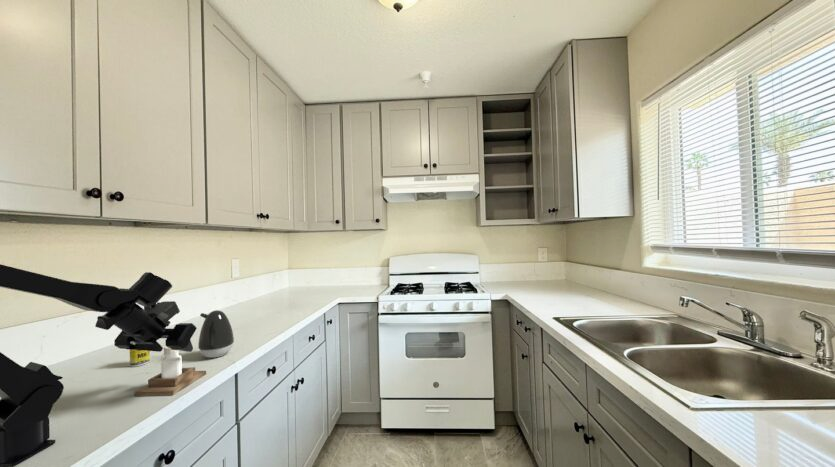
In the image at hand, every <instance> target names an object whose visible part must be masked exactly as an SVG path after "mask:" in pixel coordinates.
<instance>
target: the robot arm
mask: <svg viewBox="0 0 835 467" xmlns="http://www.w3.org/2000/svg"><path fill="white" fill-rule="evenodd" d="M0 288H3V289H8V290H12V291H18V292H23V293H26V294H32V295H38V296H43V297H47V298H51V299H55V300H58V301H60V302H63V303H65V304H67V305H70V306H72V307H75V308H77V309H81V310H83V311H89V312H96V313H97V312H98V313H104V314H103V315H98V316H97V318H96V319H97V321H96V322H95V328H99V329H102V330H105V331H108V330H111V329H112V327H113V326H115V327H116V328H118V329H119V330H121V332H119V334H118V335H117V336H116V338H115V339H114V346H115V347H117V348H118V349H121V350H122V349H123V350H124V349H125V350H129V351H130V350H143V351H149V352H157V353H158V352H159V353H161V352H162V351H163V350H164V346H162V345H161V344H160V343H159V342H158V340H159V341H160V339H165V340H164V341H165V346H167V347H168V348H171V350H178V351H179V352H186V353H192V351H193V350H194V346H193V344H192V341H191V339H192V337H193V336H194V334H195V332H196V330H197V329H198V328H197V326H196V325H195V324H194V323H193V322H186V323H185V322H184V323H183V322H182V323H181V322H180V323H176V324H175V325H174V327H173V328H168V327H170V326H169V325H170V324H171V321H169V320H171V319H172V318H173V317H175V316H176V315H178V314H179V313H180V311H181V310H180V309H179V307H178V304H177V302H176V301H175V300H173V301H171V300H170V301H167V300H166V301H161V302H159V301H160V300H161V299H162V298H163V297H164V296H165V295H166V294H167V293H168V292H169V291H170V289H172V288H173V285H172V283H171V282H170V281H169V280H167V279H164V278H162V277H160V276H158V275H156V274H153V273H152V272H150V271H149V272H147V271H145V272H143V274H142V275H140V278H139V279H138V280H136V282H135V283H133V284H132V285H131V286H130V287H129V288H121V287H120V288H119V287H117V286H114V285H106V284H99V283H98V284H97V283H89V282H88V283H87V282H78V281H77V282H76V281H69V280H66V279H62V278H56V277H53V276H50V275H46V274H45V275H44V274H41V273H37V272H32V271H29V270H25V269H22V268H18V267H12V266H8V265H5V264H1V263H0ZM141 306H143V307H141ZM166 327H167V328H166ZM62 379H63V376H61V375H57V374H54V373H53V372H52V371H51V370H50V368H48V367H47V366H46V365H44V364H40V363H38V362H37V363H36V362H33V361H30V362H28V364H26V365H25V366H23V365H20V364H19V363H17V362H16V361H14V360H13V359H11V358H10V357H8V356H7V355H5V354H4V353H2V352H1V351H0V467H13V466H16V465H18V464H21V463H22V462H23V461H25V460H27V459H29V458H31V457H32V456H34V455H37V454H38V453H39V452H42V451H43V450H45V449H46V448H48V447H50V446H52V445H53V444H55V443H56V439H50V437H51V436H50V434H51V433H50V432H51V430H50V417H49V416H50V414H51V411H52V408H53V406H54V404H55V403H56V402H58V401H59V400H60V398H61V397H62V394H63V393H64V389H65V387H64V384H63V383H62V382H61V381H60V380H62Z"/></svg>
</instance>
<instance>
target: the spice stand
mask: <svg viewBox="0 0 835 467" xmlns="http://www.w3.org/2000/svg"><path fill="white" fill-rule="evenodd" d="M205 375H207V370H196V367H182V374H180V375H179V376H177V377H175V378H162V374H161V373H158V374H156V375H154V376H152V377H151V378H149V379H147V385H145V386H144V387H142V388H140V389H138V390H136V391H135V392H134V397H149V396H150V397H153V396H154V397H155V396H159V395H160V397H161V396H174V395H176V394H177V392H178V393H179V392H181V391H182V390H184V389H185V388H187V387H188V386H190V385H192V384H193V383H194V382H196V381H198V380H200V379H201V378H202V377H204V376H205Z"/></svg>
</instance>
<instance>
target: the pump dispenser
mask: <svg viewBox="0 0 835 467" xmlns="http://www.w3.org/2000/svg"><path fill="white" fill-rule="evenodd" d="M200 317H202V318H204V321H203V323H202V326H201V329H200V332H199V338H198V349H199V352H200V353H201V355H202V356H203V357H205V358H207V359H215V358H219V357H223V356H224V355H226V354H228V353H229V352H230V351H231V349H232V348H233V344H234V343H235V336H234V332H233V328H232V325H231V322H230V320H229V318H228V316H227V315H226V314H225V313H224V311H222V310H219V309H218V310H217V309H216V310H213V311H211V312H209V313H207V314H206V313H203V312H202V313H201V312H200Z"/></svg>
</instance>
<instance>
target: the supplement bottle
mask: <svg viewBox="0 0 835 467" xmlns="http://www.w3.org/2000/svg"><path fill="white" fill-rule="evenodd" d="M150 359H151V358H150V351H143V350H129V366H130V367H133V368H136V367H141V366H144V365H146V364H148V363H150Z"/></svg>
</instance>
